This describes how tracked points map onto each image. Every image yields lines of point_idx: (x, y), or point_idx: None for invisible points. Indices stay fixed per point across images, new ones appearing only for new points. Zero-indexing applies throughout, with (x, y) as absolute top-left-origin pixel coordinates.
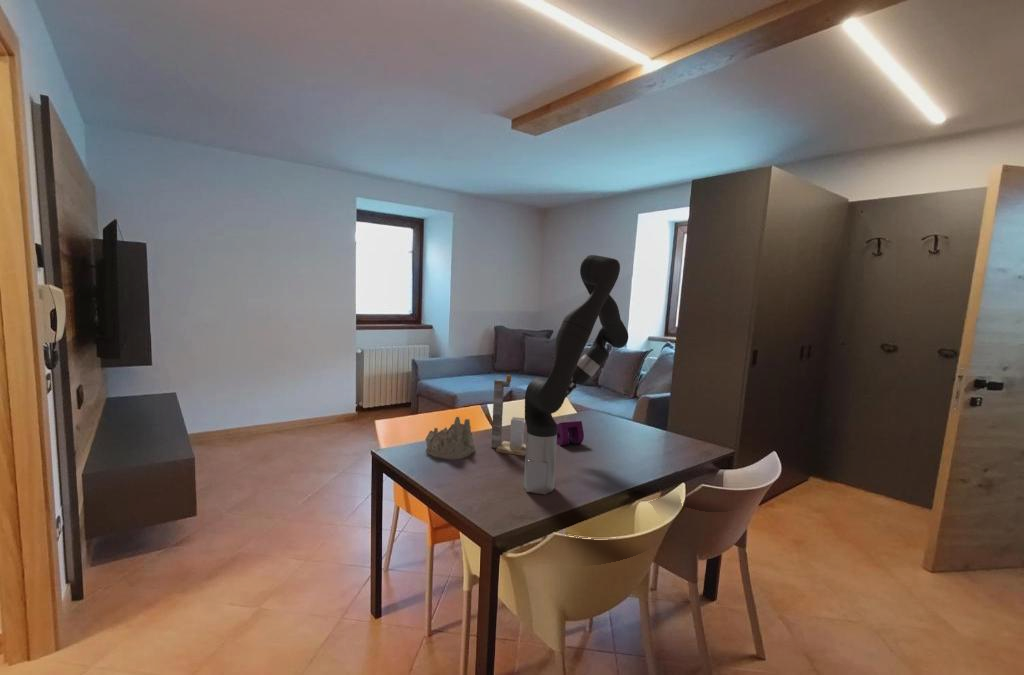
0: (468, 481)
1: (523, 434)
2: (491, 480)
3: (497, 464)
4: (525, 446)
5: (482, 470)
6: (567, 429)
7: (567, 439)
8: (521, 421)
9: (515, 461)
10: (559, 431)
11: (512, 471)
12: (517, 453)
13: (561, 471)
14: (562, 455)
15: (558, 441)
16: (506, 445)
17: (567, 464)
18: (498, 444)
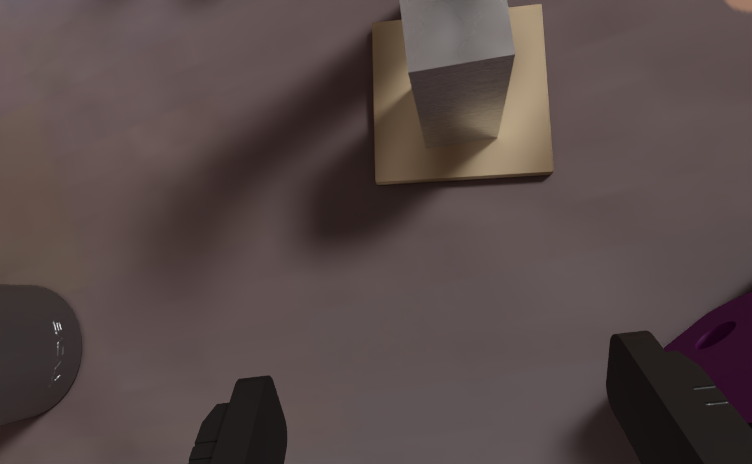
0: (9, 68)
1: (489, 111)
2: (40, 145)
3: (210, 103)
4: (498, 152)
5: (123, 71)
6: None
7: None
8: (407, 63)
9: (278, 168)
10: (723, 346)
11: (154, 194)
12: (375, 144)
13: None
14: (476, 394)
15: (691, 336)
16: None
17: (340, 442)
18: None
